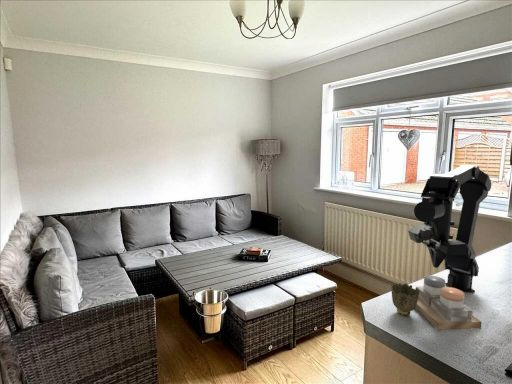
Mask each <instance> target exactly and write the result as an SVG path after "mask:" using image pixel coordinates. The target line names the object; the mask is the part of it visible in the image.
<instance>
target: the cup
mask: <svg viewBox="0 0 512 384" xmlns="http://www.w3.org/2000/svg"><path fill="white" fill-rule="evenodd" d="M419 292H420V290H418V288H416V287H415V288H413V285H412V284H410V285H409V284H407V283H403V284H401V282H399V284H398V283H393V284H392V285H391V298H392V299H391V301H392V304H393V306H394V307H395V308H396V312H397V314H399V315H400V316H403V317H408V316H410V315H411V312H412V311H414V310H416V309H415V307H416V305H417V301H418V297H419Z"/></svg>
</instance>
